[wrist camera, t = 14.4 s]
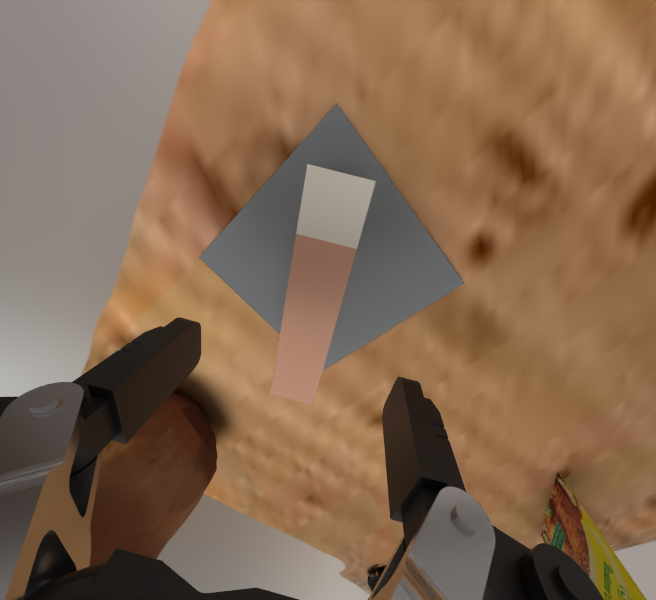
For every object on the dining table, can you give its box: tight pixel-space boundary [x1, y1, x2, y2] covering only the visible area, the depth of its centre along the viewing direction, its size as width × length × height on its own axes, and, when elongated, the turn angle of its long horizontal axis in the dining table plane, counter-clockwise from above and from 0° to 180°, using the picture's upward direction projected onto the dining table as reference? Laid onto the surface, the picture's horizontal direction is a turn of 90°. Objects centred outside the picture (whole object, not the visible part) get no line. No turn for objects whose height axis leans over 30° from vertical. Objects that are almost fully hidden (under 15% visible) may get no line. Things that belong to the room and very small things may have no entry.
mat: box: [199, 104, 464, 370], centre depth 21 cm, size 16×16×1 cm
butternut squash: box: [89, 393, 217, 567], centre depth 21 cm, size 14×13×25 cm
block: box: [270, 164, 376, 405], centre depth 17 cm, size 3×8×14 cm
